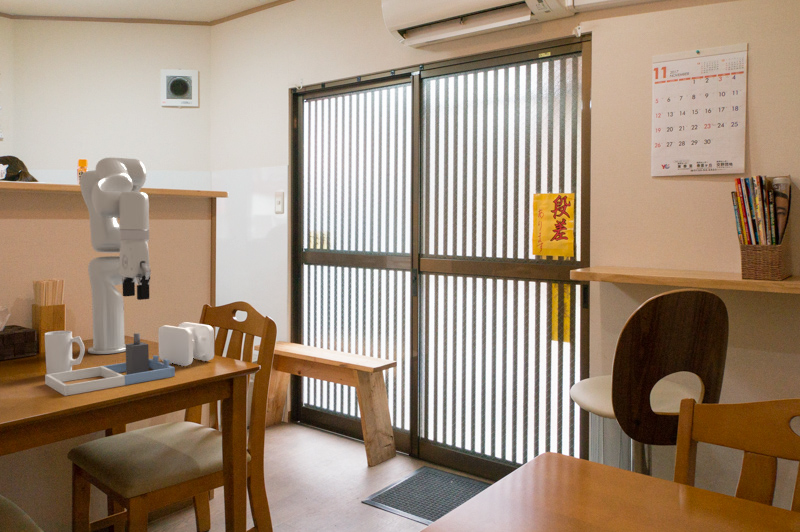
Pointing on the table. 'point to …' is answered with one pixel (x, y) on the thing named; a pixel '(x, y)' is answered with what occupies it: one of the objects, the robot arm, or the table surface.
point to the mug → (61, 351)
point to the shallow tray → (107, 377)
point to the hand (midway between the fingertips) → (135, 297)
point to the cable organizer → (186, 343)
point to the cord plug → (137, 356)
